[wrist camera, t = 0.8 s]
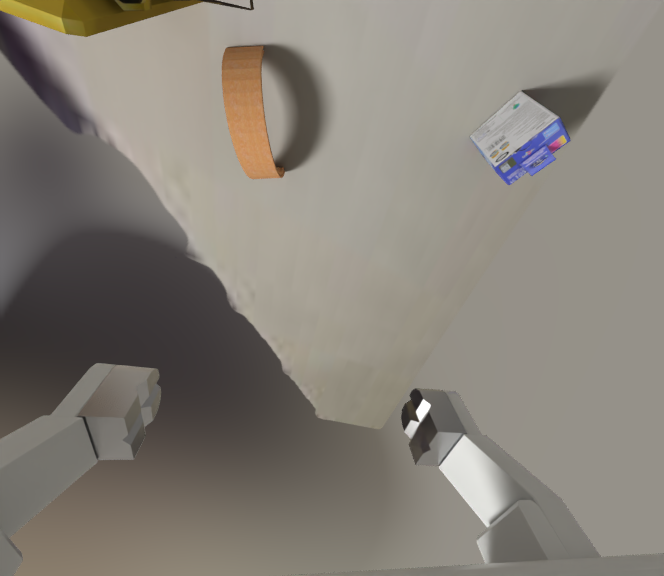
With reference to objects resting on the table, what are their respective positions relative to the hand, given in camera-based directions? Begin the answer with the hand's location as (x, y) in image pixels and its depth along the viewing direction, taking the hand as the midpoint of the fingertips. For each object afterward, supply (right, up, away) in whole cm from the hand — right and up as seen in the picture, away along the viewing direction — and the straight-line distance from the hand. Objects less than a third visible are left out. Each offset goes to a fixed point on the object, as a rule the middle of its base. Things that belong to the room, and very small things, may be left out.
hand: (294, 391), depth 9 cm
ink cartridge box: (+32, +33, +43) cm, 63 cm away
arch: (-12, +34, +42) cm, 55 cm away
